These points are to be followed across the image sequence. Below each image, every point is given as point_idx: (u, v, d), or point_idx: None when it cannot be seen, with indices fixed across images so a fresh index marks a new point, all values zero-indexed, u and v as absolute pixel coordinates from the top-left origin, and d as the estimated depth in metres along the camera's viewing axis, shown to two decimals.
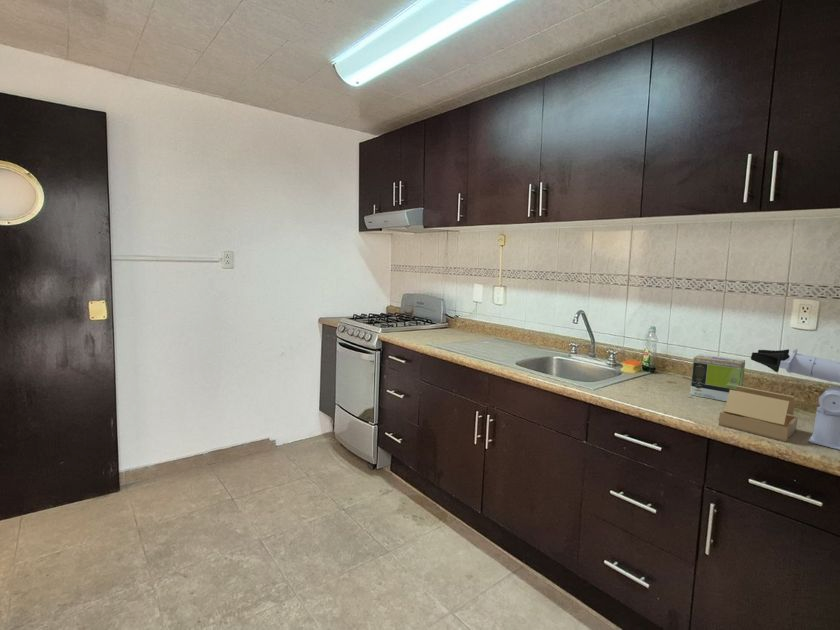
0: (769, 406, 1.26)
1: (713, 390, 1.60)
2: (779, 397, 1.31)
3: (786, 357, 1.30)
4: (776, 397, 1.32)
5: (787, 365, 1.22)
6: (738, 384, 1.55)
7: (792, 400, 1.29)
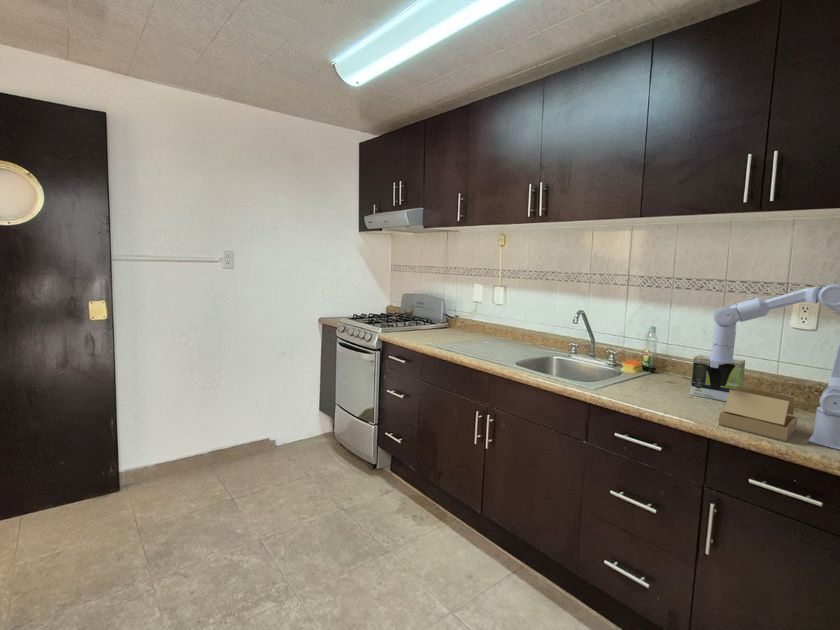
0: (769, 406, 1.26)
1: (713, 390, 1.60)
2: (779, 397, 1.31)
3: (721, 364, 1.41)
4: (776, 397, 1.32)
5: (714, 362, 1.33)
6: (738, 384, 1.55)
7: (792, 400, 1.29)
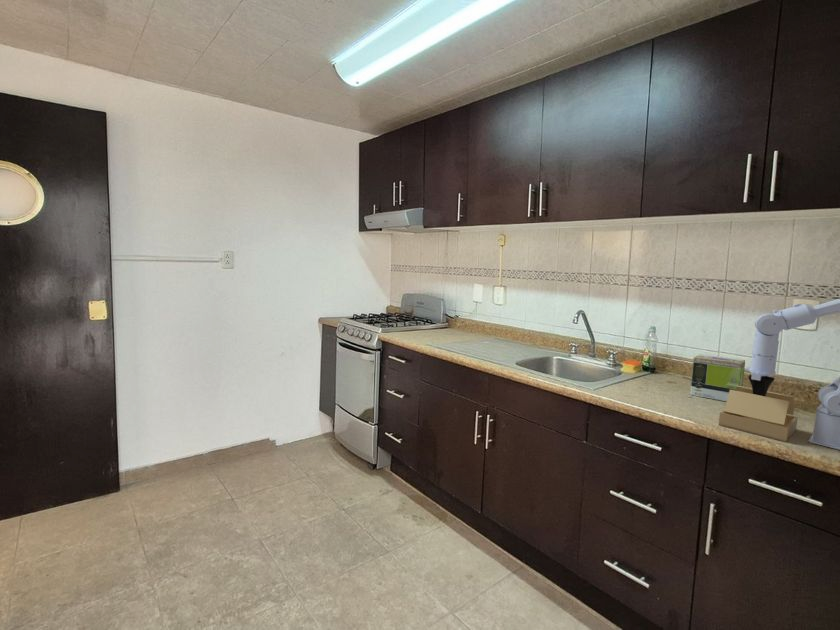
0: (769, 406, 1.26)
1: (713, 390, 1.60)
2: (779, 397, 1.31)
3: None
4: (776, 397, 1.32)
5: (755, 374, 1.24)
6: (738, 384, 1.55)
7: (792, 400, 1.29)
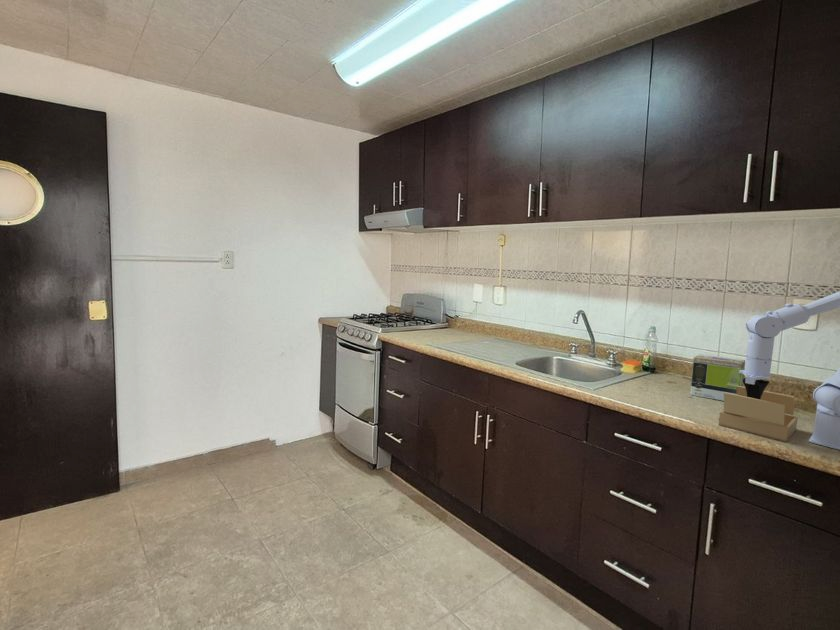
0: (766, 409, 1.23)
1: (714, 390, 1.60)
2: (779, 397, 1.31)
3: None
4: (776, 397, 1.32)
5: (749, 377, 1.20)
6: (738, 384, 1.55)
7: (792, 400, 1.29)
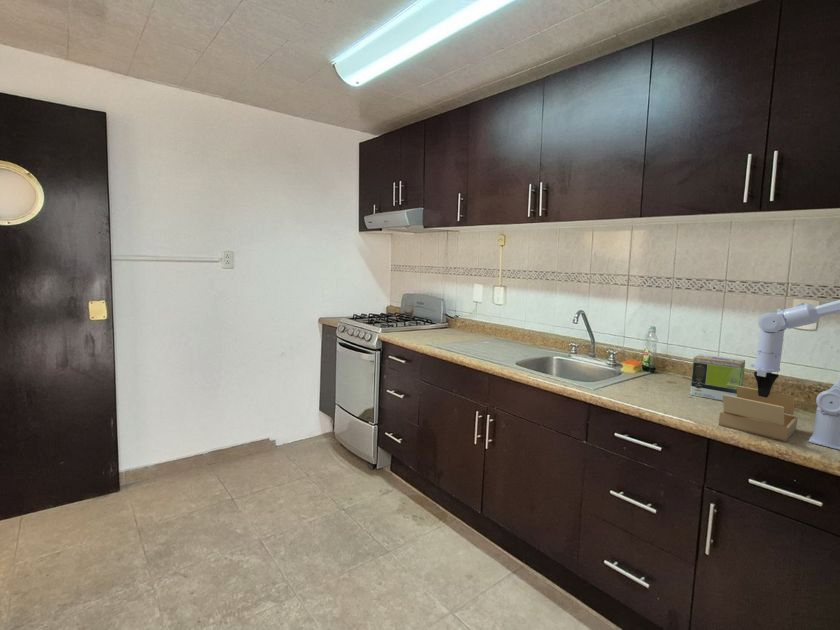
0: (765, 410, 1.22)
1: (713, 390, 1.60)
2: (779, 397, 1.31)
3: None
4: (776, 397, 1.32)
5: (761, 370, 1.28)
6: (738, 384, 1.55)
7: (792, 400, 1.29)
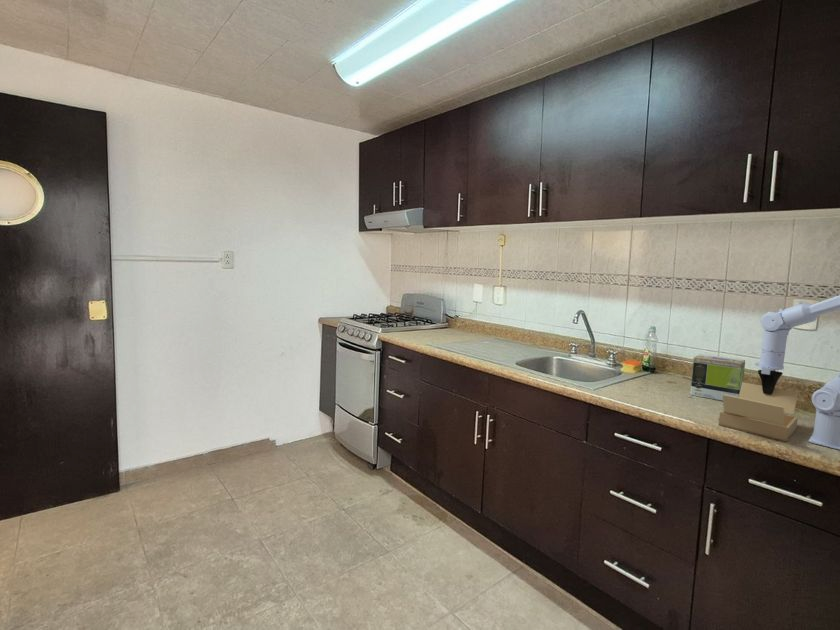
0: (765, 410, 1.22)
1: (713, 390, 1.60)
2: (783, 393, 1.35)
3: None
4: (780, 393, 1.35)
5: (765, 368, 1.32)
6: (738, 384, 1.55)
7: (796, 396, 1.33)
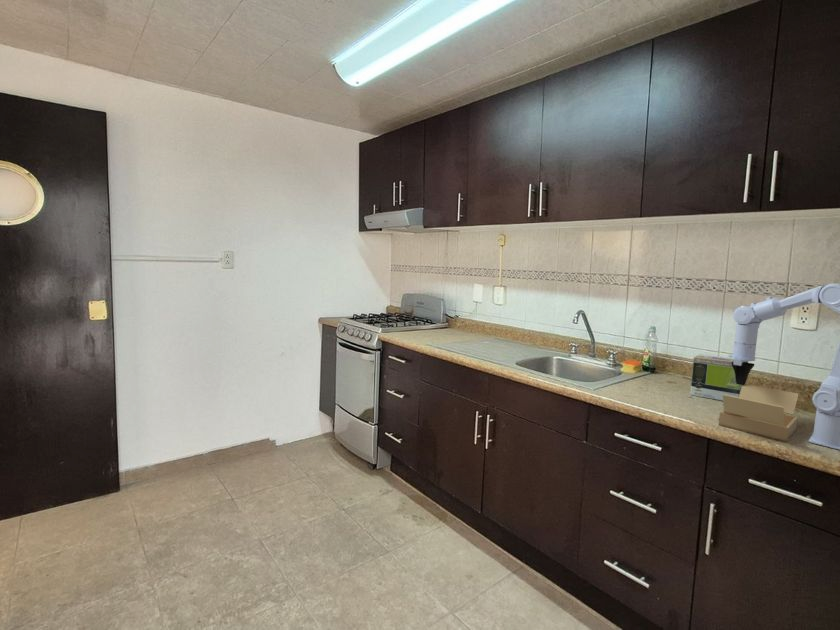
0: (765, 410, 1.22)
1: (713, 390, 1.60)
2: (783, 394, 1.35)
3: None
4: (780, 394, 1.36)
5: (737, 360, 1.38)
6: (738, 384, 1.55)
7: (796, 397, 1.33)
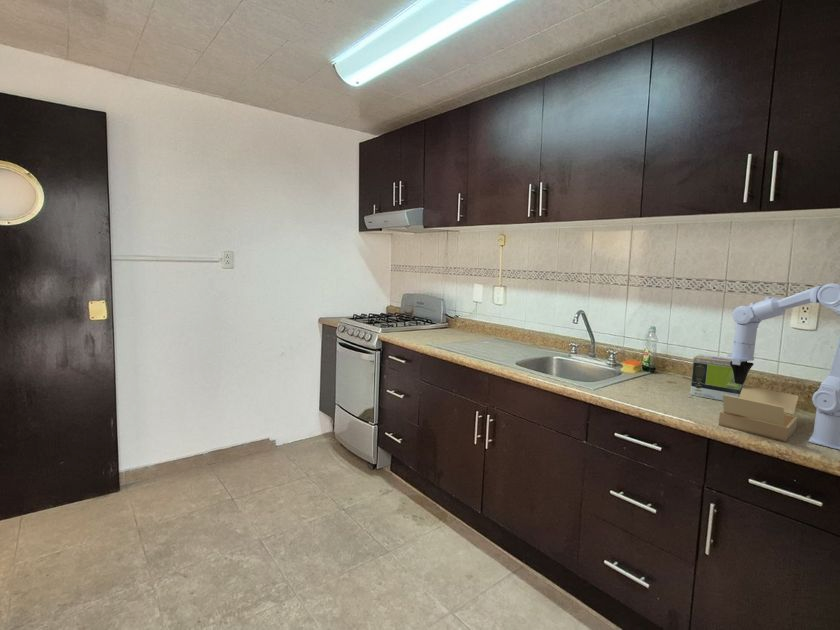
0: (765, 410, 1.22)
1: (714, 390, 1.60)
2: (783, 396, 1.36)
3: None
4: (780, 395, 1.36)
5: (736, 359, 1.39)
6: (738, 384, 1.55)
7: (796, 398, 1.34)
